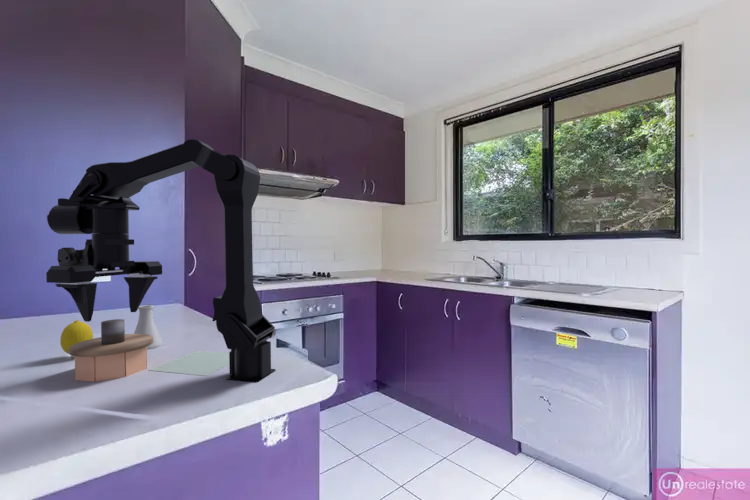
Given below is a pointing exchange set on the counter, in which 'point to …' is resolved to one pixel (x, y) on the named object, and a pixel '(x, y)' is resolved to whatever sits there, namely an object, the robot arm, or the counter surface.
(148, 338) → the lid
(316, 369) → the counter surface
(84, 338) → the lemon
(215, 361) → the mat
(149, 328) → the flask
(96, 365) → the bowl
